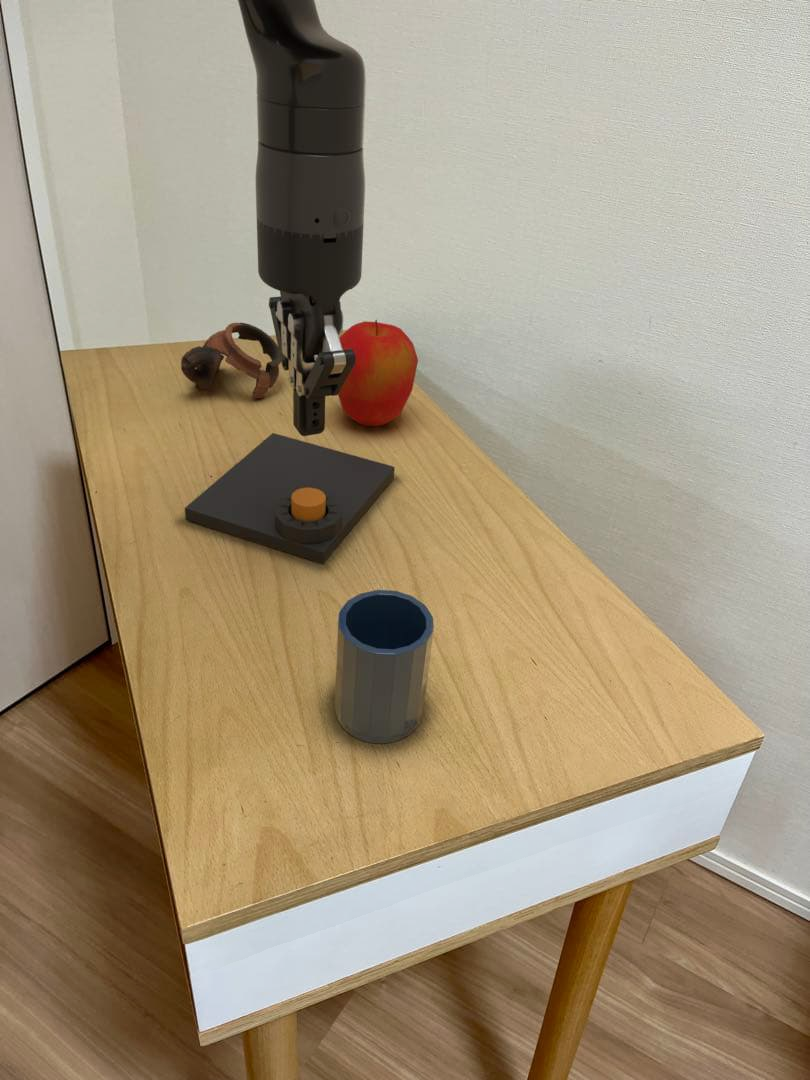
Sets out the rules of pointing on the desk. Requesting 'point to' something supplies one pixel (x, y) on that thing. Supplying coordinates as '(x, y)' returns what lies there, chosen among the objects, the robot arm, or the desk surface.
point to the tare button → (308, 504)
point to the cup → (382, 665)
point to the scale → (265, 496)
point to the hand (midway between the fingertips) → (309, 430)
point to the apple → (377, 372)
